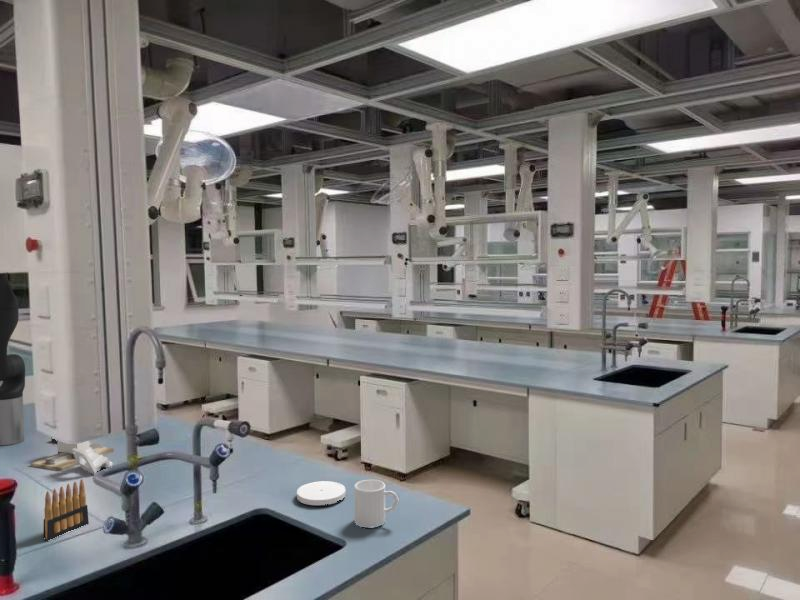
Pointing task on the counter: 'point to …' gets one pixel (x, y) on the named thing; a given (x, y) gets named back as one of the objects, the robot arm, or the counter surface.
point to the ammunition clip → (65, 511)
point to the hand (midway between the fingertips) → (85, 369)
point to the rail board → (67, 459)
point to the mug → (371, 502)
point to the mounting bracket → (91, 460)
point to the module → (72, 447)
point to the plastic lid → (321, 493)
